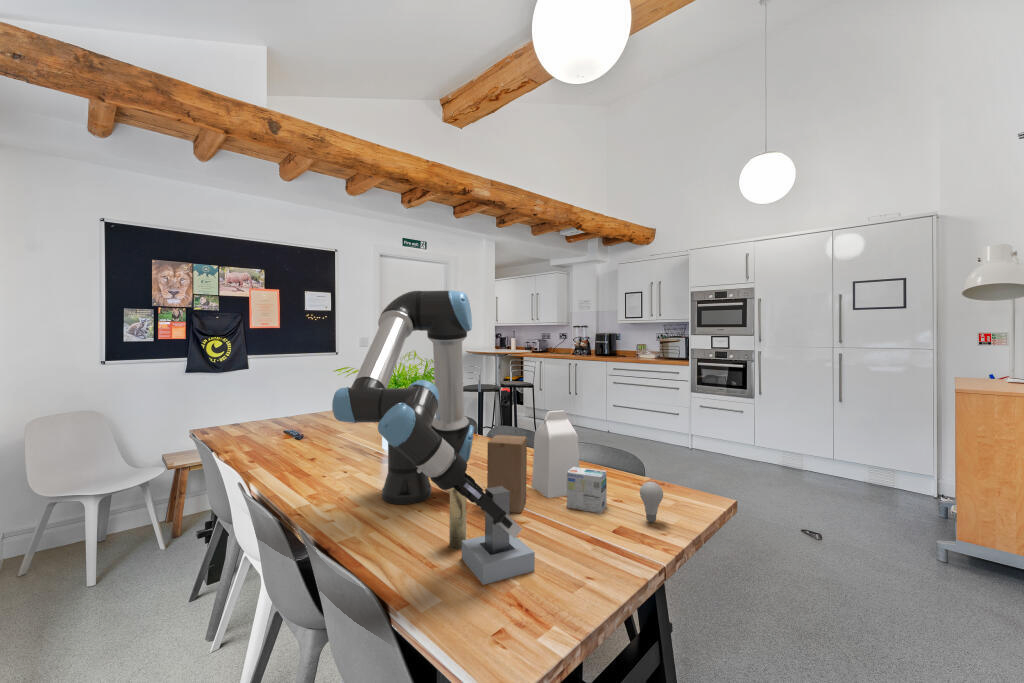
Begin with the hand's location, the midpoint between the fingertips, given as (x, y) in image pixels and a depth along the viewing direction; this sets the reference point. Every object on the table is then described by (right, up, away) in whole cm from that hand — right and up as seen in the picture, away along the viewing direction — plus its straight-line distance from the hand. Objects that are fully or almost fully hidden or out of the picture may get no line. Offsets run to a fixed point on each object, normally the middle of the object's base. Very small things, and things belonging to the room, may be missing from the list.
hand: (512, 528), depth 97 cm
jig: (-3, -7, -2) cm, 8 cm away
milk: (+14, -7, +47) cm, 49 cm away
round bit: (-13, -7, +7) cm, 17 cm away
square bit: (-3, -5, -2) cm, 6 cm away
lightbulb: (+38, -8, +21) cm, 44 cm away
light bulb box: (+22, -7, +32) cm, 39 cm away
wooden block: (-2, -7, +32) cm, 33 cm away
